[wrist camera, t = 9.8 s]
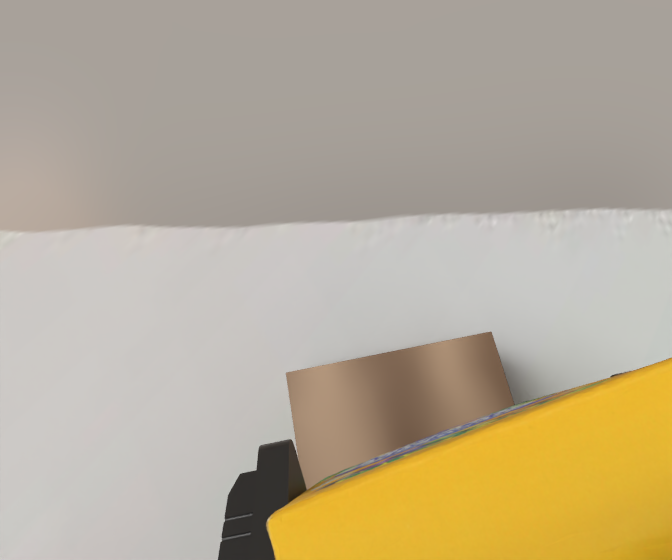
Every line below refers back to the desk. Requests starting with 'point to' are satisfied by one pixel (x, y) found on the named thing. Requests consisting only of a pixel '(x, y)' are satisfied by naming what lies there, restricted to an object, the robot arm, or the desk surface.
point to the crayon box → (507, 485)
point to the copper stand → (391, 401)
